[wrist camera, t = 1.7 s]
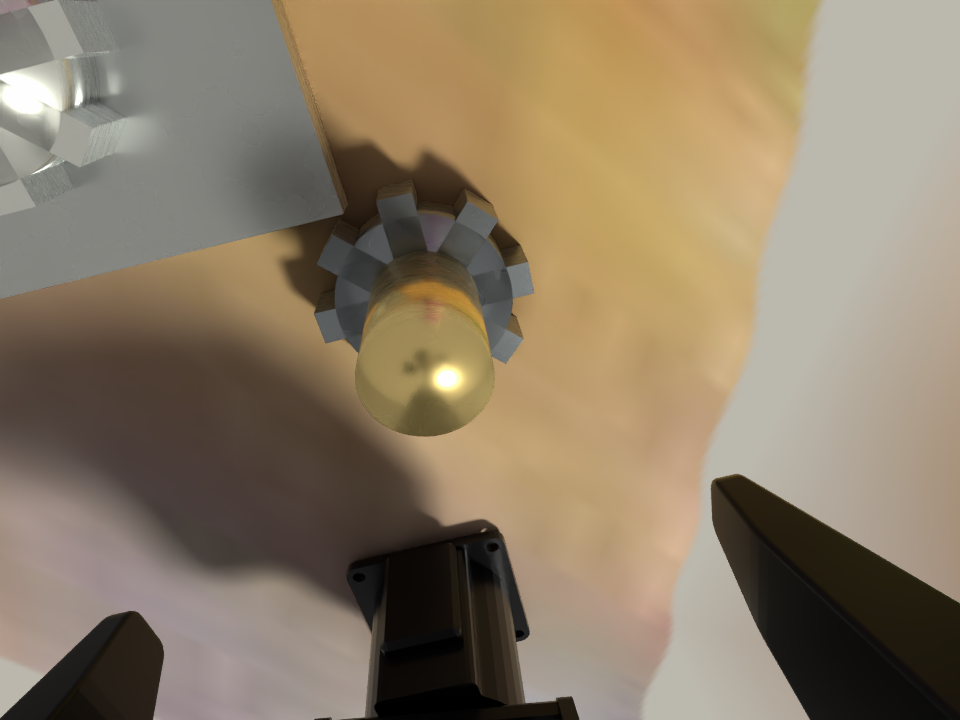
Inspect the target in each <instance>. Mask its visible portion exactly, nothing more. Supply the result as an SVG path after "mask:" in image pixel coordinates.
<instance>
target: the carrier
mask: <svg viewBox="0 0 960 720" xmlns="http://www.w3.org/2000/svg"><path fill="white" fill-rule="evenodd" d="M347 204H348V201H347V198H346V195H345V192H344V189H343V186H342V183H341V180H340V177H339V174H338V171H337V168H336V165H335V162H334V159H333V156H332V153H331V150H330V147H329V144H328V141H327V138H326V135H325V132H324V129H323V126H322V123H321V120H320V117H319V114H318V111H317V108H316V105H315V102H314V99H313V96H312V93H311V90H310V87H309V84H308V81H307V78H306V75H305V72H304V69H303V66H302V63H301V60H300V57H299V54H298V51H297V48H296V45H295V42H294V39H293V36H292V33H291V30H290V27H289V24H288V21H287V18H286V14H285V11H284V8H283V5H282V2H281V0H0V299H2V298H6V297H10V296H14V295H18V294H22V293H26V292H30V291H34V290H38V289H42V288H46V287H50V286H54V285H58V284H62V283H67V282H71V281H75V280H79V279H83V278H87V277H91V276H95V275H99V274H103V273H107V272H111V271H115V270H119V269H123V268H127V267H131V266H135V265H139V264H143V263H147V262H152V261H156V260H160V259H164V258H168V257H172V256H176V255H180V254H184V253H188V252H192V251H196V250H200V249H204V248H208V247H212V246H216V245H220V244H224V243H228V242H233V241H237V240H241V239H245V238H249V237H253V236H257V235H261V234H265V233H269V232H273V231H277V230H281V229H285V228H289V227H293V226H297V225H301V224H305V223H309V222H313V221H318V220H322V219H326V218H330V217H334V216H338V215H342V214H344V212H345V209H346V207H347Z"/></svg>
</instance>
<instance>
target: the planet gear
mask: <svg viewBox="0 0 960 720" xmlns="http://www.w3.org/2000/svg"><path fill="white" fill-rule="evenodd" d="M376 205H377V208H378V211H379V213H378V214H376V215H375V216H373V217H372V218H371V219H369V220H368V221H367V222H366V223H365V224H364V225H363V226H362V227H361V228H360V229H357V228H356V227H354V226H352V225H350V224H348V223H347V222H345V221H343V220H341V219H339V220H338V222H337V223H336V225H335V227H334V229H333V231H332V233H331V235H330V237H329V239H328V240H327V242H326V244H325V246H324V248H323V251H322V253H321V255H320V257H319V260H318V262H317V264H316V265H318V266H320V267H322V268H324V269H326V270H328V271H330V272H332V273H334V274H335V275H337V276H338V277H337V280H336V286H335V290H331V291H327V292H323V293H322V294H321V296H320V299H319V302H318V304H317V307H316V310H315V312H314V315H315V318H316V320H317V323H318V325H319V328H320V330H321V333H322V335H323V338H324V340H325V343H329V342H333V341H337V340H341V339H346V338H347V339H348V341H349V343H350V344H351V345H352V346H353V348H354V349H355V350H356V351H357V352H358V353H359V354H358V359H357V365H356V371H355V383H356V389H357V392H358V396H359V398H360V400H361V402H362V404H363V405H364V407H365V408H366V410H367V411H368V412H369V413H370V414H371V415H372V416H373V417H374V418H375V419H376V420H377V421H378V422H380V423H381V424H383V425H384V426H386V427H388V428H390V429H392V430H394V431H397V432H399V433H403V434H407V435H412V436H437V435H442V434H446V433H449V432H452V431H455V430H457V429H459V428H461V427H463V426H465V425H466V424H468V423H469V422H471V421H472V420H473V419H474V418H475V417H476V416H478V415H479V413H480V412H481V411H482V410H483V409H484V407H485V406H486V404H487V402H488V401H489V398H490V396H491V394H492V390H493V387H494V366H493V361H492V357H494V358H496V359H498V360H500V361H502V362H504V363H505V364H506V363H507V361H508V360H509V358H510V357H511V356H512V354H513V353H514V351H515V350H516V349H517V347H518V346H519V345H520V343H521V342H522V340H523V336H522V332H521V329H520V326H519V323H518V320H517V317H515V316H514V315H512V314H511V311H512V304H513V298H517V297H521V296H525V295H529V294H533V293H534V290H533V285H532V280H531V275H530V269H529V264H528V261H527V258H526V256H525V254H524V252H523V250H522V247H521V245H516V246H512V247H508V248H504V249H499V247H498V244H497V243H496V241H495V240H494V238H493V236H492V235H491V234H490V232H491V231H492V229H493V228H494V226H495V224H496V223H497V221H498V218H497V215H496V213H495V210H494V207H493V205H492V204H490V203H489V202H487V201H485V200H484V199H482V198H480V197H479V196H477V195H476V194H474V193H472V192H471V191H469V190H468V189H466V188H464V189H463V190H462V192H461V194H460V195H459V197H458V199H457V200H456V202H455V204H454V205H453V206H450V205H447V204H443V203H438V202H431V201H418V198H417V194H416V190H415V187H414V183H413V179H412V180H408V181H404V182H400V183H396V184H392V185H388V186H384V187H380V188H379V190H378V194H377V198H376Z"/></svg>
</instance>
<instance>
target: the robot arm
mask: <svg viewBox="0 0 960 720" xmlns="http://www.w3.org/2000/svg"><path fill="white" fill-rule="evenodd" d="M711 500H712V521H713V525H714V529H715V532H716V535H717V537H718V539H719V542H720V544H721V546H722V548H723V551H724V553H725V555H726V557H727V560H728V562H729V564H730V567H731V569H732V571H733V573H734V576H735V578H736V580H737V582H738V585H739V587H740V589H741V592H742V594H743V596H744V598H745V601H746V603H747V605H748V607H749V610H750V612H751V614H752V616H753V619H754V621H755V623H756V625H757V627H758V629H759V631H760V633H761V635H762V637H763V639H764V640H765V642H766V644H767V646H768V648H769V649H770V651H771V653H772V655H773V656H774V658H775V660H776V661H777V663H778V665H779V667H780V668H781V670H782V672H783V674H784V675H785V677H786V679H787V680H788V682H789V684H790V686H791V687H792V689H793V691H794V693H795V694H796V696H797V698H798V700H799V701H800V703H801V705H802V706H803V708H804V710H805V712H806V713H807V715H808V717H809V719H810V720H960V603H959V602H957V601H955V600H953V599H951V598H950V597H948V596H946V595H945V594H943V593H942V592H940V591H938V590H936V589H934V588H933V587H931V586H930V585H928V584H926V583H924V582H923V581H921V580H919V579H918V578H916V577H914V576H913V575H911V574H909V573H908V572H906V571H904V570H902V569H900V568H899V567H897V566H896V565H894V564H892V563H891V562H889V561H887V560H886V559H884V558H882V557H880V556H879V555H877V554H875V553H874V552H872V551H870V550H869V549H867V548H865V547H863V546H862V545H860V544H858V543H857V542H855V541H853V540H852V539H850V538H848V537H846V536H845V535H843V534H841V533H840V532H838V531H836V530H835V529H833V528H831V527H829V526H828V525H826V524H824V523H823V522H821V521H819V520H818V519H816V518H814V517H813V516H811V515H809V514H807V513H806V512H804V511H802V510H801V509H799V508H797V507H796V506H794V505H792V504H790V503H789V502H787V501H785V500H784V499H782V498H780V497H779V496H777V495H775V494H773V493H772V492H770V491H768V490H767V489H765V488H763V487H762V486H760V485H758V484H756V483H755V482H753V481H751V480H750V479H748V478H746V477H745V476H742V475H739V474H734V475H729V476H725V477H720V478H716V479H714V480H713V481H712V484H711ZM490 543H495V544H491V545H490ZM357 573H362V574H357ZM346 577H347V581H348V583H349V585H350V587H351V589H352V591H353V593H354V596H355V598H356V600H357V602H358V604H359V606H360V608H361V610H362V612H363V614H364V616H365V618H366V620H367V622H368V624H369V627H370V629H371V631H372V639H371V651H370V663H369V675H368V687H367V699H366V711H365V718H353V719H342V720H579V716H578V713H577V710H576V707H575V704H574V701H573V698H572V697H560V698H556V701H548V702H536V703H525V697H524V690H523V684H522V677H521V671H520V664H519V657H518V651H517V644H516V642H518V641H522V640H525V639H526V638H527V637H528V636H529V632H530V631H529V626H528V621H527V618H526V614H525V611H524V607H523V604H522V600H521V597H520V593H519V590H518V586H517V582H516V579H515V575H514V572H513V568H512V565H511V561H510V558H509V554H508V551H507V547H506V543H505V540H504V537H503V535H502V534H501V533H499V532H497V531H488V532H483V533H479V534H474V535H470V536H465V537H461V538H457V539H452V540H448V541H443V542H439V543H435V544H430V545H426V546H421V547H417V548H412V549H408V550H404V551H399V552H395V553H390V554H386V555H382V556H377V557H373V558H368V559H364V560H359V561H355V562H353V563H351V564H350V565H349V566H348V569H347V576H346ZM163 659H164V650H163V645H162V643H161V641H160V639H159V638H158V637H157V635H156V634H155V633H154V631H153V630H152V629H151V627H150V626H149V625H148V623H147V622H146V621H145V620H144V618H143V617H142V616H141V615H140V614H139V613H138V612H135V611H128V612H123V613H119V614H115V615H111V616H108V617H106V618H105V619H104V620H102V621H101V622H100V623H99V624H98V625H97V626H96V627H95V628H94V629H93V630H92V631H91V632H90V633H89V634H88V635H87V636H86V637H85V638H84V639H83V640H81V641H80V642H79V643H78V644H77V645H76V646H75V647H74V648H73V649H72V650H71V651H70V652H69V653H68V654H67V655H66V656H65V657H64V658H63V659H62V660H61V661H60V662H58V663H57V664H56V665H55V666H54V667H53V668H52V669H51V670H50V671H49V672H48V673H47V674H46V675H45V676H44V677H43V678H42V679H41V680H40V681H39V682H38V683H37V684H36V685H35V686H33V687H32V688H31V690H30V691H28V692H27V693H26V694H25V695H24V696H23V697H22V698H21V699H20V700H19V701H18V702H17V703H16V704H15V705H14V706H13V707H12V708H10V709H9V710H8V711H7V712H6V713H5V714H4V715H3V716H2V717H1V718H0V720H153V716H154V710H155V705H156V699H157V693H158V688H159V682H160V676H161V671H162V665H163ZM314 720H332V718H331V717H330V718H318V719H314Z"/></svg>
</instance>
